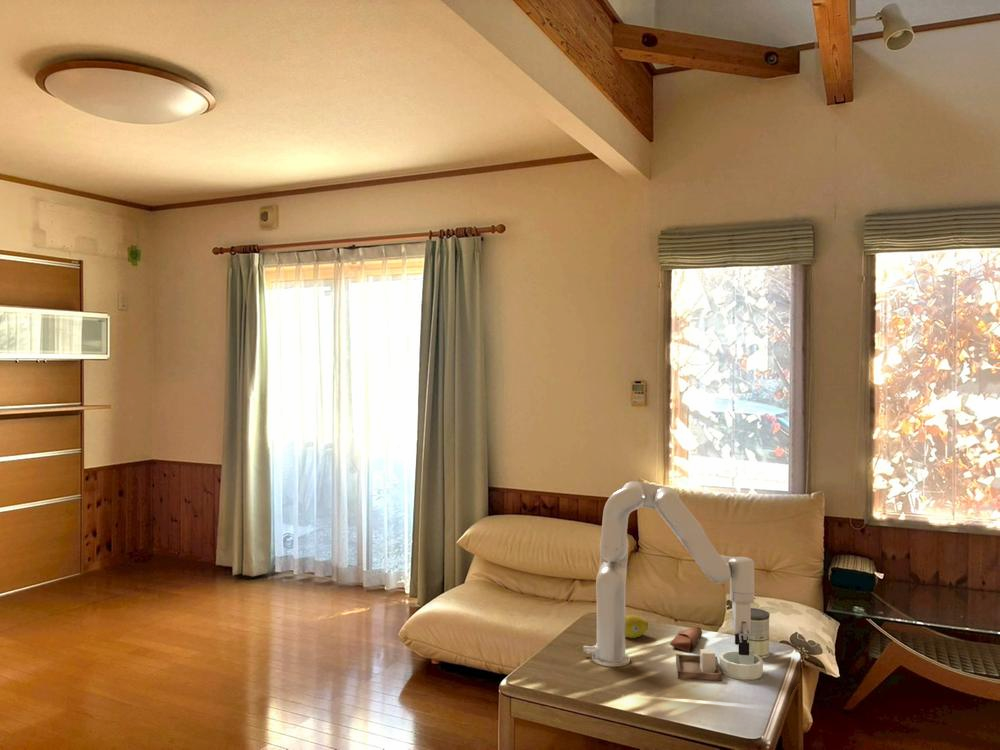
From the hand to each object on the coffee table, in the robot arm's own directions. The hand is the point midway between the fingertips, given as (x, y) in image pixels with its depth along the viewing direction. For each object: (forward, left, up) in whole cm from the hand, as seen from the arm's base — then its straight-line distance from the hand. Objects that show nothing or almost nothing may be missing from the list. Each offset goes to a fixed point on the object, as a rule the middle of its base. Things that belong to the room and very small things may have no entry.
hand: (741, 649), depth 244 cm
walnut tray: (-14, -3, -7) cm, 16 cm away
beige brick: (-11, -3, -6) cm, 13 cm away
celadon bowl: (-1, -1, -7) cm, 7 cm away
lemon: (-35, +25, -7) cm, 44 cm away
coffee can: (+6, +17, -7) cm, 19 cm away
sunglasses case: (-18, +23, -7) cm, 30 cm away
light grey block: (+1, 0, -6) cm, 6 cm away
